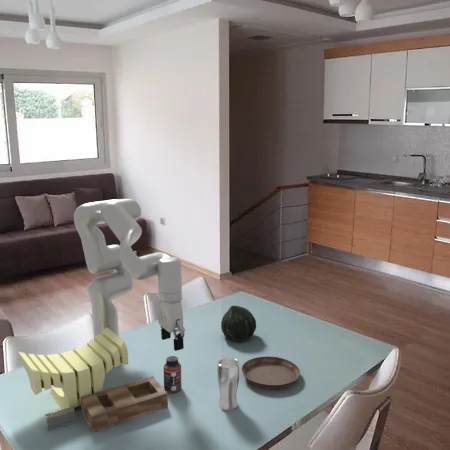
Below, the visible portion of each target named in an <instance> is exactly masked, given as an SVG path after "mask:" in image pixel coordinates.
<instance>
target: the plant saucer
mask: <svg viewBox="0 0 450 450" xmlns="http://www.w3.org/2000/svg"><path fill="white" fill-rule="evenodd" d="M240 371H241V373H242V375H243V376H244V377H245V379H246V380H247V381H248V382H249V383H250V384H252V385H253V386H256V387H257V388H262V389H266V390H267V389H268V390H279V389H283V388H287V387H289V386H292V384H293V383H295V382H296V381H297V379H298V378H299V377H300V375H301V370H300V368H299V366H298V365H297V364H296V363H294V362H293V361H291V360H288V359H286V358H282V357H278V356H257V357H253V358H251V359H248V360H246V361H245V362H244V363H243V364H242V366H241V370H240Z"/></svg>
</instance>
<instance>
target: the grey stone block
mask: <svg viewBox="0 0 450 450" xmlns="http://www.w3.org/2000/svg"><path fill="white" fill-rule="evenodd" d="M44 415H45V425H46V428H47V431H52V430H55V429H58V428H62V427H64V426H68V425H71V424H75V423H76V422H77V421H76V410H75V408H73V406H72V407H69V408H66V409H62V410H61V409H60V410H57V411H53V412H49V413H46V414H44Z"/></svg>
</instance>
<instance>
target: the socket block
mask: <svg viewBox="0 0 450 450" xmlns="http://www.w3.org/2000/svg"><path fill="white" fill-rule="evenodd" d="M168 403H169V399H168V392H166V391H165V390H164V387H162V386H161V384H160V383H159V382H158V381H157V380H156V379H155V378H154V377H153V376H150V377H146V378H142V379H139V380H137V381H132V382H128V383H126V384H123V385H119V386H115V387H111V388H109V389H105V390H102V391H101V392H98V393H94V394H91V395H87V396H84V397H81V412H82V414H83V417H84V418H85V421H86V422H87V424H88V425H89V428H90V429H91V431H92V433H94V432H99V431H101V430H104V429H106V428H107V429H108V428H111V427H114V426H115V425H116V426H117V425H119V424H123V423H125V422H128V421H131V420H134V419H138V418H140V417H143V416H147V415H149V414H150V415H151V414H152V413H155V412H159V411H161V410H165V409H167V408H168V407H169V404H168Z"/></svg>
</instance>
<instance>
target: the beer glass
mask: <svg viewBox="0 0 450 450" xmlns="http://www.w3.org/2000/svg"><path fill="white" fill-rule="evenodd" d="M239 363H240V362H239V360H238V359H237V358H234V357H230V356H229V357H223V358H220V359H219V360H218V361H217V371H216V372H217V374H216V377H217V384H218V389H219V401H218V407H219V408H220V409H221V410H223V411H233V410H236V409H237V408H238V399H237V395H238V394H237V393H238V388H239V382H240V381H239V380H240V366H239V365H240V364H239Z"/></svg>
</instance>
